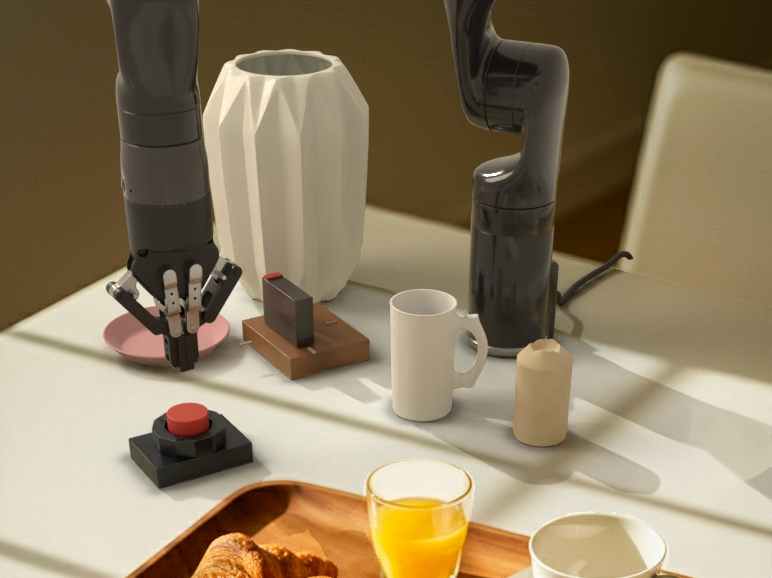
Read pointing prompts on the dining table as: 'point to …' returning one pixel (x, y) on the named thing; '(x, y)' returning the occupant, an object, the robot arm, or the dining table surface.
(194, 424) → the button
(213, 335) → the plate
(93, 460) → the dining table surface
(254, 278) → the vase
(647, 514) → the dining table surface
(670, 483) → the dining table surface
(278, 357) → the oak panel
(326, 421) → the dining table surface
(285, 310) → the bar knob
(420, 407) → the mug
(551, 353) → the candle
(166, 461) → the button block
